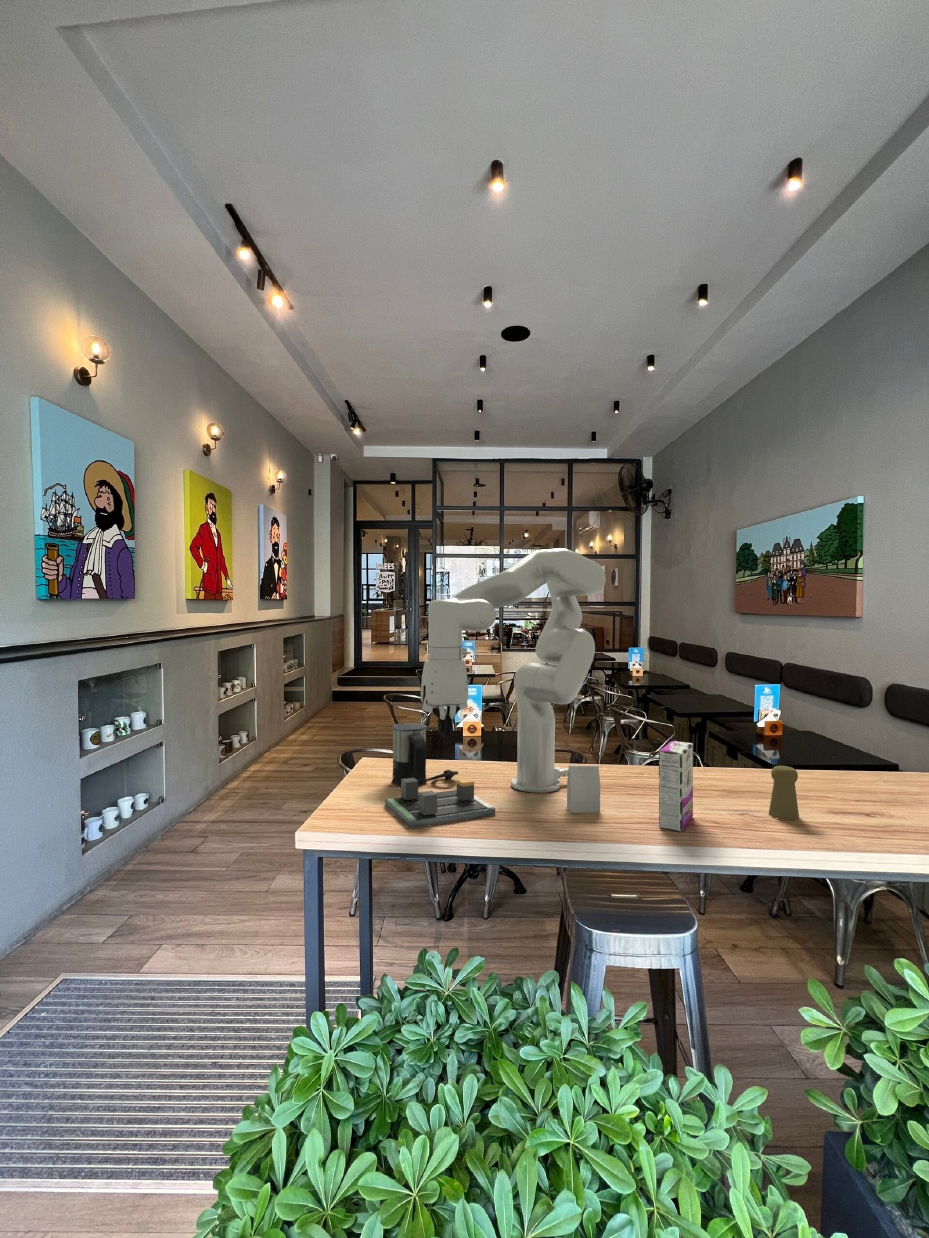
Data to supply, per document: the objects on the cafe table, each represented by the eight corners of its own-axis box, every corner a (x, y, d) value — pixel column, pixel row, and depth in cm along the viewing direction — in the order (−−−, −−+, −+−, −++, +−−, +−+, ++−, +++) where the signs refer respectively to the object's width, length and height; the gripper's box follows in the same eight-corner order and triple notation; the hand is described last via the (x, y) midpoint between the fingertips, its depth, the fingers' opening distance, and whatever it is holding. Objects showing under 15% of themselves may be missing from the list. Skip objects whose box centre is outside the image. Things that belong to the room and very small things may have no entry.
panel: (463, 794, 147) (463, 787, 147) (495, 815, 133) (495, 807, 133) (385, 805, 138) (385, 798, 138) (409, 828, 124) (409, 820, 124)
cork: (787, 822, 130) (788, 771, 130) (762, 814, 135) (763, 765, 135) (805, 818, 132) (806, 768, 132) (779, 810, 138) (780, 762, 138)
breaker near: (431, 808, 130) (431, 790, 130) (437, 813, 128) (437, 794, 128) (418, 810, 129) (418, 792, 129) (424, 815, 126) (424, 796, 126)
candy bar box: (670, 813, 135) (670, 740, 135) (693, 817, 133) (694, 742, 132) (657, 828, 126) (658, 749, 125) (682, 833, 123) (683, 752, 123)
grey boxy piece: (600, 812, 135) (600, 768, 135) (570, 812, 135) (570, 768, 135) (596, 807, 139) (596, 763, 139) (566, 807, 139) (567, 763, 139)
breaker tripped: (468, 795, 140) (468, 778, 140) (474, 798, 138) (474, 781, 138) (456, 796, 139) (456, 779, 139) (462, 800, 136) (462, 782, 136)
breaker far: (413, 794, 140) (413, 777, 140) (418, 798, 138) (418, 780, 138) (401, 796, 139) (401, 779, 139) (405, 800, 136) (405, 782, 136)
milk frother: (384, 781, 158) (384, 725, 158) (431, 771, 168) (431, 718, 168) (417, 794, 147) (417, 733, 147) (465, 782, 158) (465, 726, 158)
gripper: (467, 652, 142) (467, 729, 143) (408, 654, 136) (408, 735, 136) (482, 654, 135) (482, 736, 136) (420, 657, 129) (420, 742, 129)
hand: (445, 735), depth 136 cm, fingers closed
